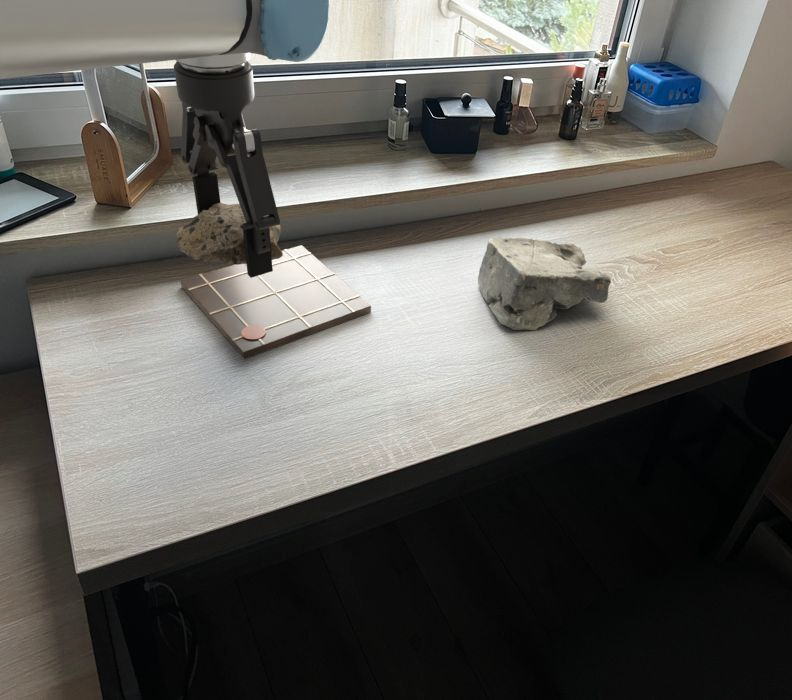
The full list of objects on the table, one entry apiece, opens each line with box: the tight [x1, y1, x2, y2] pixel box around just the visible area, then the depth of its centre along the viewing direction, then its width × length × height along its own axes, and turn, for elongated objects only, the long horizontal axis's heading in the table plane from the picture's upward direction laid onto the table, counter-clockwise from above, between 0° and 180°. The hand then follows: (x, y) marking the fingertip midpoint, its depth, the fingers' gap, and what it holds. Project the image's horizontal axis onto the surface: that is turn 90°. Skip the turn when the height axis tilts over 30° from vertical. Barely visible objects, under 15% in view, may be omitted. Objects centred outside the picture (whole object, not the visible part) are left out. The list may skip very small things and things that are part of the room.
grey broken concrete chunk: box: [477, 236, 612, 331], centre depth 111 cm, size 16×18×10 cm
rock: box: [174, 202, 283, 265], centre depth 84 cm, size 11×12×4 cm
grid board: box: [179, 244, 372, 360], centre depth 106 cm, size 20×20×1 cm
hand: (234, 248), depth 86 cm, fingers closed on rock, 12 cm apart
